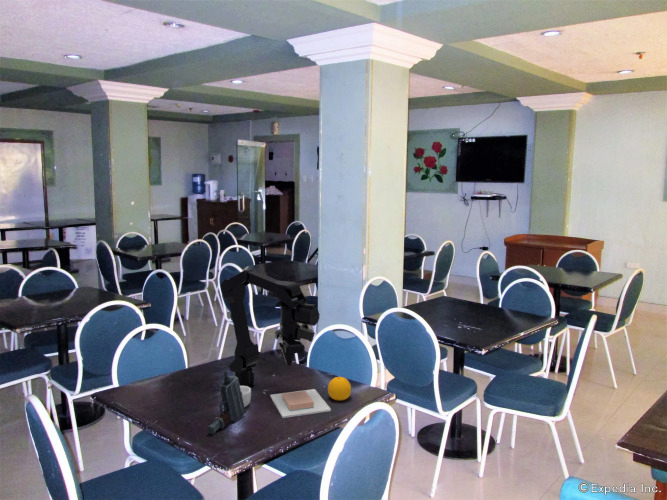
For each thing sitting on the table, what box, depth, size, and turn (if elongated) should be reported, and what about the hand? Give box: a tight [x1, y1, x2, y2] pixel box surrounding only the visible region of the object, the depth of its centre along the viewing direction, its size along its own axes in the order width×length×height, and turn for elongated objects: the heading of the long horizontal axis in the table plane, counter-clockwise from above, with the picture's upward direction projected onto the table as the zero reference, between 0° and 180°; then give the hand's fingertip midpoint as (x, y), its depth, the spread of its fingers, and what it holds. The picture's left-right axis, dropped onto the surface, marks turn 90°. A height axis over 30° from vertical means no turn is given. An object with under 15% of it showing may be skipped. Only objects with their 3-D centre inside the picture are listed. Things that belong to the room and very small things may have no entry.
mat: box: [269, 388, 332, 419], centre depth 180 cm, size 16×18×1 cm
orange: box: [327, 376, 352, 401], centre depth 184 cm, size 8×8×8 cm
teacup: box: [240, 386, 252, 408], centre depth 177 cm, size 10×8×5 cm
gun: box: [207, 370, 248, 436], centre depth 162 cm, size 3×17×15 cm
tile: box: [282, 390, 314, 411], centre depth 179 cm, size 8×2×10 cm
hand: (288, 365), depth 183 cm, fingers closed
